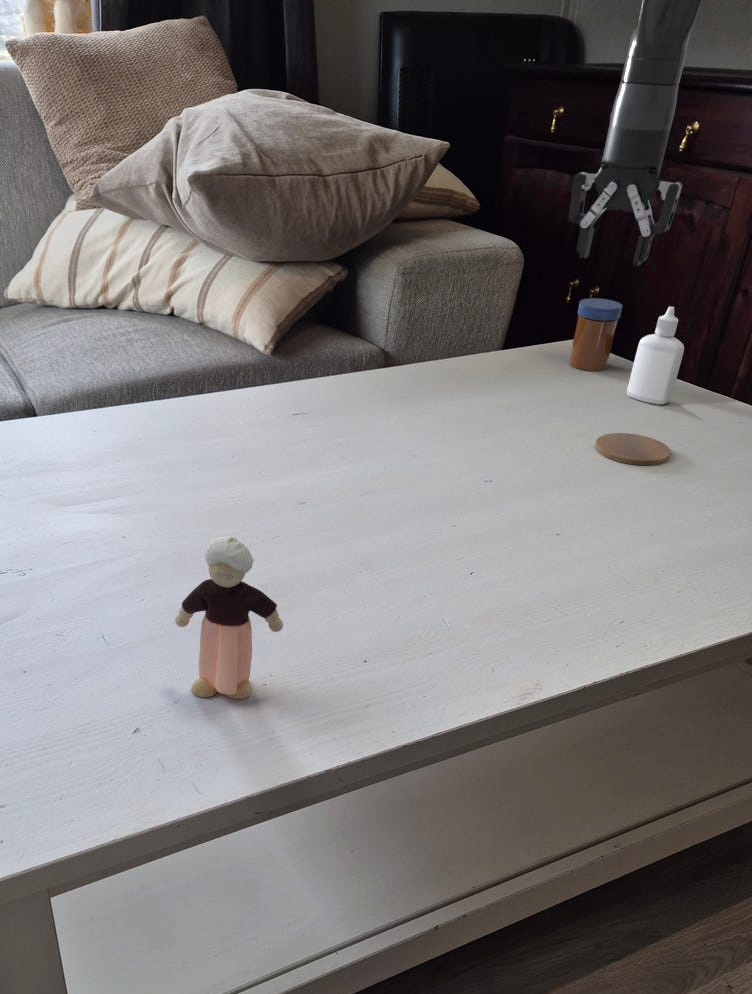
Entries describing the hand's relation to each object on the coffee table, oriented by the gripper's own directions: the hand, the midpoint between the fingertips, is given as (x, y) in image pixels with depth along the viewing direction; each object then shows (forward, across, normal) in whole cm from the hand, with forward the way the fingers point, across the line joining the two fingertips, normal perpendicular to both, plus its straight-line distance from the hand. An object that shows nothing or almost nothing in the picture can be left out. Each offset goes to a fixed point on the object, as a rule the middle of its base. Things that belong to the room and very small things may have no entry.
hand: (609, 260), depth 127 cm
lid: (+6, 0, 0) cm, 6 cm away
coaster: (+15, -15, +29) cm, 36 cm away
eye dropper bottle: (+15, -12, +9) cm, 21 cm away
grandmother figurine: (+15, -4, +94) cm, 95 cm away
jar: (+15, 0, 0) cm, 15 cm away
